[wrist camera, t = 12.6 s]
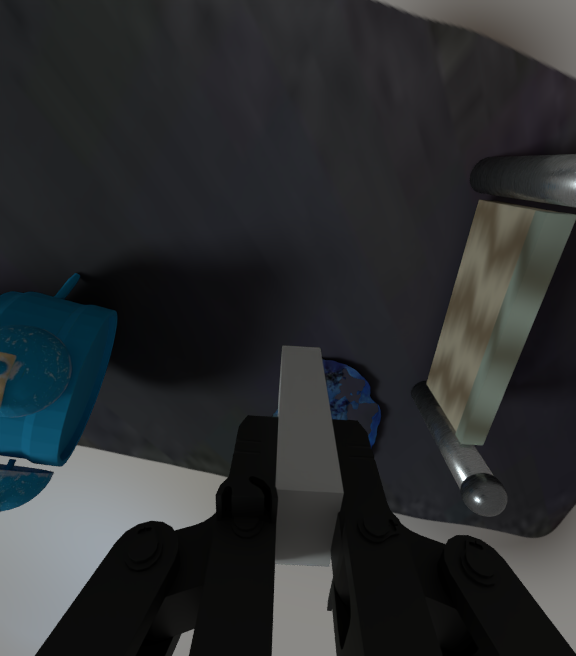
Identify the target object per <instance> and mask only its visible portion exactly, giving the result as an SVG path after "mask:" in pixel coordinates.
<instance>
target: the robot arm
mask: <svg viewBox="0 0 576 656" xmlns="http://www.w3.org/2000/svg"><path fill="white" fill-rule="evenodd" d="M330 559H331V560H332V569H333V580H332V584H331V589H330V593H329V598H328V607H327V610H328V611H332V610H333V622H334V633H335V643H336V653H337V656H576V653H575V652H574V651H573V649H572V648H571V647H570V646H569V644H568V643H567V642H566V640H565V639H564V638H563V636H562V635H561V634H560V632H559V631H558V630H557V628H556V627H555V626H554V624H553V623H552V622H551V621H550V619H549V618H548V617H547V615H546V614H545V613H544V611H543V610H542V609H541V607H540V606H539V605H538V604H537V602H536V601H535V600H534V598H533V597H532V595H531V594H530V593H529V592H528V590H527V589H526V588H525V586H524V585H523V584H522V582H521V581H520V580H519V578H518V577H517V576H516V574H515V573H514V572H513V571H512V569H511V568H510V567H509V565H508V564H507V563H506V561H505V560H504V559H503V558H502V557H501V556H500V555H499V554H498V553H497V552H496V550H494V548H492V547H491V546H489V545H488V544H486V543H485V542H483V541H482V540H480V539H477V538H474V537H471V536H469V535H456V536H454V537H452V538H451V539H448V541H447V543H446V544H443V543H440V542H438V541H435V540H432V539H429V538H427V537H424V536H421V535H419V534H417V533H415V532H412V531H410V530H409V529H408V528H406V527H405V526H403V525H402V524H401V523H400V521H399V519H398V518H397V517H396V516H395V515H394V514H393V513H392V512H391V511H390V508H389V506H388V504H387V501H386V497H385V494H384V490H383V486H382V483H381V479H380V476H379V472H378V469H377V465H376V462H375V460H374V455H373V451H372V449H371V444H370V441H369V437H368V434H367V432H366V431H365V429H364V428H363V427H362V426H361V424H360V423H359V422H358V421H355V420H337V419H332V417H331V411H330V405H329V399H328V393H327V387H326V380H325V374H324V368H323V362H322V356H321V349H320V348H313V347H297V346H282V358H281V373H280V388H279V403H278V417H267V416H249V415H248V416H247V417H246V418H245V419H244V421H243V422H242V423H241V424H240V426H239V429H238V434H237V439H236V444H235V449H234V454H233V459H232V464H231V469H230V474H229V477H228V478H227V479H226V480H225V481H224V482H223V483H222V484H221V485H220V487H219V489H218V491H217V494H216V513H215V514H214V515H213V516H212V517H210V518H209V519H207V520H206V521H204V522H201V523H199V524H196V525H193V526H190V527H186V528H182V529H179V530H175V531H174V530H173V528H172V527H171V526H169V525H167V524H165V523H164V522H158V521H149V522H145V523H141V524H138V525H136V526H135V527H133V528H131V529H130V530H128V531H126V532H125V533H124V534H123V535H122V536H121V537H120V538H119V540H118V541H117V542H116V543H115V544H114V545H113V547H112V548H111V550H110V551H109V553H108V554H107V555H106V557H105V558H104V560H103V561H102V562H101V564H100V565H99V567H98V568H97V569H96V571H95V572H94V574H93V575H92V576H91V578H90V579H89V581H88V582H87V583H86V585H85V586H84V588H83V589H82V590H81V592H80V594H79V595H78V596H77V597H76V599H75V601H74V602H73V603H72V604H71V606H70V607H69V609H68V610H67V612H66V613H65V614H64V616H63V617H62V618H61V620H60V621H59V623H58V624H57V626H56V627H55V628H54V630H53V631H52V632H51V634H50V635H49V637H48V638H47V639H46V641H45V642H44V644H43V645H42V646H41V648H40V649H39V651H38V652H37V653H36V655H35V656H172V654H173V652H174V650H175V648H176V645H177V643H178V641H179V638H180V636H181V634H182V633H184V632H187V631H189V630H192V629H194V634H193V639H192V644H191V649H190V654H189V656H271V655H272V628H273V602H274V573H275V564H285V565H307V566H329V564H330Z"/></svg>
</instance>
